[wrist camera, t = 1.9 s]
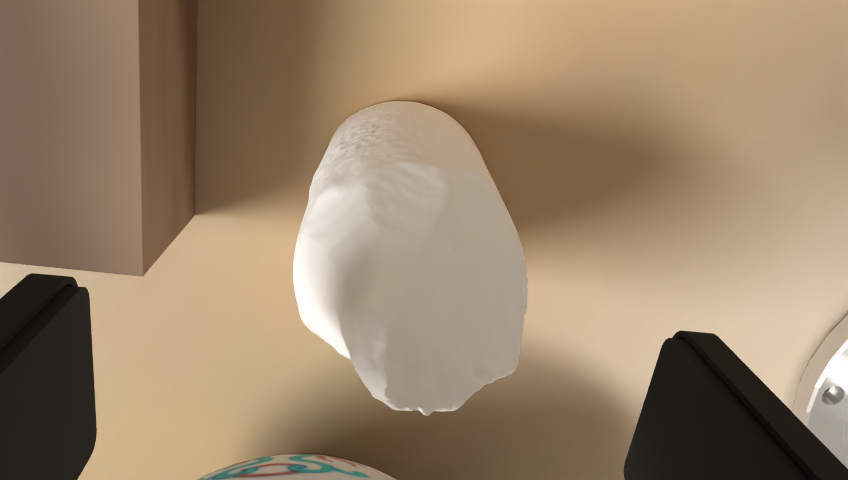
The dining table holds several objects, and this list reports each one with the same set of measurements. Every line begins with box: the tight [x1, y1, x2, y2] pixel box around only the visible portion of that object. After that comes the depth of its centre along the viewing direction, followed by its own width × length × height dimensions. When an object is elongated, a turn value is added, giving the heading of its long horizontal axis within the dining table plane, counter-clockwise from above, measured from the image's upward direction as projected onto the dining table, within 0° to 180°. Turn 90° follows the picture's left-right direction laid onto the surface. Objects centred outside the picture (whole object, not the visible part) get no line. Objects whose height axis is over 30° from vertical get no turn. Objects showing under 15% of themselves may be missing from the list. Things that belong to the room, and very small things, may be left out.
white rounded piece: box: [293, 101, 528, 416], centre depth 16 cm, size 6×12×6 cm
